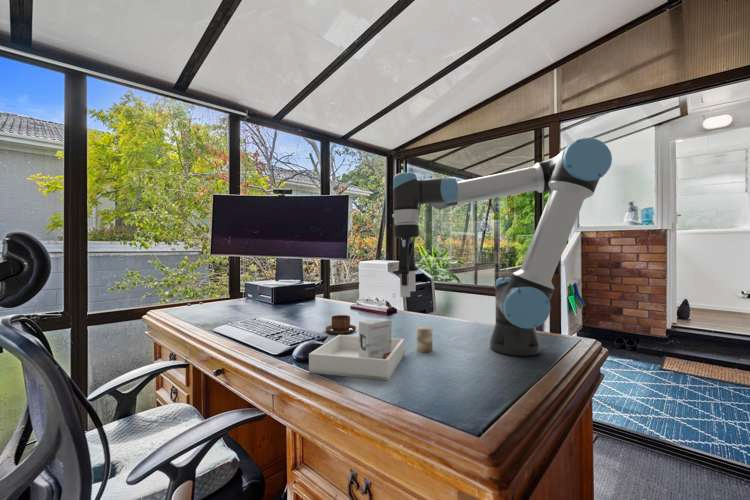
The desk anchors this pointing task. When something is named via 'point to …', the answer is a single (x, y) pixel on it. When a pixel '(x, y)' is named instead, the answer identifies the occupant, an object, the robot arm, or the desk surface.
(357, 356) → the tray
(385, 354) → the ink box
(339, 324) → the cup and saucer
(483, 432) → the desk surface
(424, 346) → the birch cylinder
